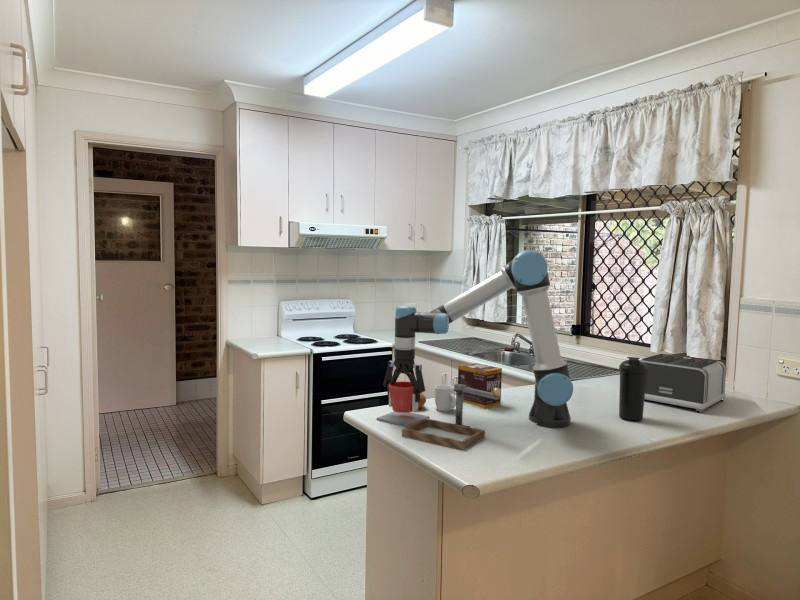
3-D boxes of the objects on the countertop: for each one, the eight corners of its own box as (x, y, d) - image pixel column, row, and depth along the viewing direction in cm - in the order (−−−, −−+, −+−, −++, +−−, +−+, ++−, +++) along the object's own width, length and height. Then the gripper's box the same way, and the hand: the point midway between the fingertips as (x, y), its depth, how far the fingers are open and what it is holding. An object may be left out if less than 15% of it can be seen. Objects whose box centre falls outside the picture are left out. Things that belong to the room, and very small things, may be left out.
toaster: (728, 399, 251) (730, 359, 249) (703, 413, 225) (705, 369, 224) (657, 387, 272) (659, 350, 271) (627, 398, 247) (629, 358, 246)
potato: (413, 403, 230) (414, 385, 229) (430, 409, 221) (431, 391, 220) (395, 406, 225) (395, 388, 224) (412, 413, 215) (412, 393, 215)
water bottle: (643, 415, 220) (647, 357, 218) (646, 422, 210) (649, 361, 208) (616, 412, 223) (619, 355, 221) (617, 419, 213) (620, 359, 212)
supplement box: (485, 409, 223) (486, 370, 222) (456, 401, 235) (457, 364, 234) (501, 405, 230) (502, 368, 229) (473, 398, 241) (474, 362, 240)
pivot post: (470, 428, 197) (471, 392, 196) (462, 432, 192) (463, 395, 191) (455, 425, 200) (456, 389, 199) (446, 429, 195) (447, 392, 194)
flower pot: (387, 406, 211) (387, 380, 210) (416, 406, 212) (416, 381, 211) (388, 414, 201) (389, 387, 200) (419, 414, 201) (420, 387, 201)
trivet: (429, 418, 208) (429, 416, 208) (408, 427, 197) (408, 424, 197) (397, 412, 216) (397, 410, 216) (376, 420, 205) (376, 418, 204)
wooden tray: (484, 437, 187) (484, 430, 187) (463, 450, 174) (463, 442, 174) (425, 425, 200) (425, 418, 199) (401, 435, 187) (401, 428, 187)
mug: (462, 412, 217) (463, 389, 216) (446, 415, 213) (447, 391, 212) (445, 406, 226) (446, 383, 225) (430, 409, 222) (430, 385, 221)
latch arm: (459, 389, 198) (459, 378, 198) (503, 399, 184) (503, 388, 184) (451, 390, 195) (451, 380, 195) (496, 401, 181) (496, 390, 181)
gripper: (436, 350, 202) (434, 411, 203) (385, 343, 214) (384, 401, 215) (425, 352, 195) (423, 415, 197) (374, 346, 208) (372, 405, 209)
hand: (403, 408), depth 206 cm, fingers closed on flower pot, 10 cm apart
